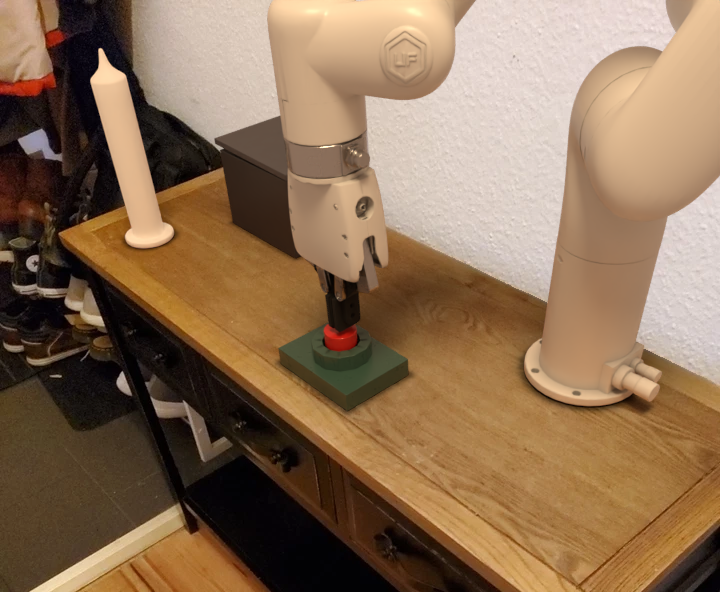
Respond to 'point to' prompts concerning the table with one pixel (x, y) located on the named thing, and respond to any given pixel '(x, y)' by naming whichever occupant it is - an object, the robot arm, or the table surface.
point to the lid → (259, 146)
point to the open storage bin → (258, 202)
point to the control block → (344, 366)
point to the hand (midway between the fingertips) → (345, 323)
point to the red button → (340, 338)
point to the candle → (128, 157)
